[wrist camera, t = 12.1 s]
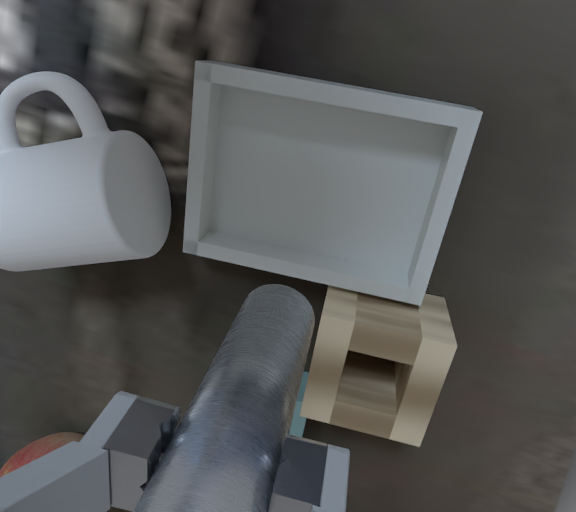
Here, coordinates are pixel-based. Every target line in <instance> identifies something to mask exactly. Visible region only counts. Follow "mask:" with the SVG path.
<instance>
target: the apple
mask: <svg viewBox="0 0 576 512" xmlns="http://www.w3.org/2000/svg"><path fill="white" fill-rule="evenodd" d="M83 436H84V434H81V433H75V432H60V433H55V434H51V435H48V436H46V437H43V438H41V439H38V440H36V441H34V442H32V443H30V444H28V445H27V446H25V447H23V448H22V449H20V450H19V451H18V452H17V453H15V454H14V455H13V456H12V457H11V458H10V459H9V460H8V461H7V462H6V463H5V464H4V466H3V467H2V469H1V470H0V477H2V476H4V475H6V474H8V473H10V472H12V471H14V470H16V469H18V468H20V467H22V466H24V465H26V464H28V463H30V462H32V461H34V460H36V459H38V458H40V457H42V456H44V455H46V454H48V453H50V452H52V451H54V450H56V449H58V448H60V447H62V446H64V445H66V444H68V443H70V442H72V441H76V442H80V440H81V439H82V438H83Z"/></svg>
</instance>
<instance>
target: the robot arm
mask: <svg viewBox="0 0 576 512" xmlns="http://www.w3.org/2000/svg"><path fill="white" fill-rule="evenodd" d="M180 413H181V408H180V407H178V406H174V405H171V404H167V403H164V402H160V401H157V400H153V399H150V398H146V397H143V396H138V395H134V394H131V393H127V392H124V391H120V392H118V393H117V394H115V395H114V397H113V398H112V399H111V401H110V402H109V403H108V405H107V406H106V407H105V409H104V410H103V411H102V413H101V414H100V415H99V417H98V418H97V419H96V421H95V422H94V423H93V425H92V426H91V427H90V429H89V430H88V431H87V432H86V434H85V435H84V436H83V438H82V439H81V440H80V442H76V441H72V442H70V443H68V444H66V445H64V446H62V447H60V448H58V449H56V450H54V451H52V452H50V453H48V454H46V455H44V456H42V457H40V458H38V459H36V460H34V461H32V462H30V463H28V464H26V465H24V466H22V467H20V468H18V469H16V470H14V471H12V472H10V473H8V474H6V475H4V476H2V477H0V512H106V511H108V510H109V509H110V506H112V507H116V508H120V509H124V510H128V511H132V512H133V511H134V509H135V507H136V505H137V503H138V502H139V500H140V498H141V496H142V494H143V492H144V490H145V488H146V486H147V484H148V483H149V481H150V479H151V477H152V475H153V473H154V471H155V469H156V467H157V466H158V464H159V462H160V460H161V458H162V456H163V454H164V452H165V450H166V449H167V447H168V445H169V443H170V441H171V439H172V437H173V435H174V433H175V432H176V430H177V427H176V426H177V424H178V422H179V420H180ZM349 459H350V452H349V449H345V448H341V447H337V446H333V445H329V444H328V445H327V444H326V443H322V442H318V441H314V440H310V439H306V438H302V437H298V436H293V435H289V434H286V437H285V441H284V445H283V449H282V454H281V458H280V463H279V465H278V470H277V474H276V478H275V483H274V487H273V491H272V496H271V500H270V505H269V510H268V512H346V500H347V486H348V473H349Z"/></svg>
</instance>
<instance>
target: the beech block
mask: <svg viewBox="0 0 576 512" xmlns="http://www.w3.org/2000/svg"><path fill="white" fill-rule="evenodd" d="M456 349H457V343H456V339H455V335H454V331H453V328H452V324H451V320H450V316H449V313H448V309H447V305H446V302H445V298H444V297H439V296H435V295H430V294H426V293H425V295H424V298H423V301H422V304H421V306H419V305H415V304H410V303H406V302H402V301H397V300H393V299H388V298H384V297H379V296H375V295H371V294H366V293H362V292H357V291H353V290H348V289H344V288H340V287H335V286H331V285H328V290H327V294H326V298H325V302H324V307H323V311H322V315H321V320H320V324H319V329H318V334H317V338H316V343H315V347H314V352H313V357H312V361H311V366H310V370H309V375H308V380H307V384H306V389H305V393H304V398H303V403H302V407H301V412H300V416H301V417H305V418H309V419H313V420H317V421H321V422H325V423H328V424H332V425H336V426H340V427H344V428H348V429H352V430H356V431H360V432H363V433H367V434H371V435H375V436H379V437H383V438H387V439H391V440H394V441H398V442H402V443H406V444H410V445H414V446H418V447H420V445H421V442H422V440H423V437H424V434H425V432H426V429H427V426H428V424H429V421H430V418H431V416H432V413H433V410H434V408H435V405H436V402H437V400H438V397H439V394H440V392H441V389H442V386H443V383H444V381H445V378H446V375H447V373H448V370H449V367H450V365H451V362H452V359H453V357H454V354H455V351H456Z"/></svg>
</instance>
